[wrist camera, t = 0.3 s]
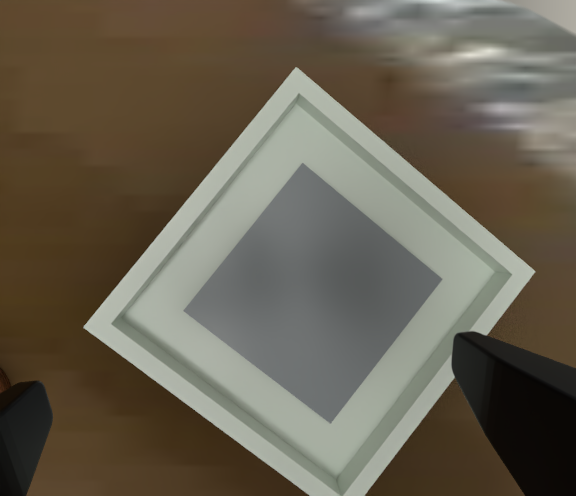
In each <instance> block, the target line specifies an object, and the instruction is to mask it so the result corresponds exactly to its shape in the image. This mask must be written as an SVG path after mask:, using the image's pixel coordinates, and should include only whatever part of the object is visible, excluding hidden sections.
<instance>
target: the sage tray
mask: <svg viewBox="0 0 576 496" xmlns="http://www.w3.org/2000/svg"><path fill="white" fill-rule="evenodd" d="M534 273H535V271H534V270H533V269H532V268H531V267H530V266H528V265H527V264H526V263H525V262H524V261H523V260H521V259H520V258H519V257H518V256H517V255H516V254H514V253H513V252H512V251H511V250H510V249H509V248H507V247H506V246H505V245H504V244H503V243H501V242H500V241H499V240H498V239H497V238H496V237H494V236H493V235H492V234H491V233H490V232H489V231H487V230H486V229H485V228H484V227H483V226H482V225H480V224H479V223H478V222H477V221H476V220H475V219H473V218H472V217H471V216H470V215H469V214H468V213H466V212H465V211H464V210H463V209H462V208H461V207H459V206H458V205H457V204H456V203H455V202H454V201H452V200H451V199H450V198H449V197H448V196H447V195H445V194H444V193H443V192H442V191H441V190H440V189H438V188H437V187H436V186H435V185H434V184H433V183H431V182H430V181H429V180H428V179H427V178H426V177H424V176H423V175H422V174H421V173H420V172H418V171H417V170H416V169H415V168H414V167H413V166H411V165H410V164H409V163H408V162H407V161H406V160H404V159H403V158H402V157H401V156H400V155H399V154H397V153H396V152H395V151H394V150H393V149H392V148H390V147H389V146H388V145H387V144H386V143H385V142H383V141H382V140H381V139H380V138H379V137H378V136H376V135H375V134H374V133H373V132H372V131H371V130H369V129H368V128H367V127H366V126H365V125H364V124H362V123H361V122H360V121H359V120H358V119H357V118H355V117H354V116H353V115H352V114H351V113H350V112H348V111H347V110H346V109H345V108H344V107H343V106H341V105H340V104H339V103H338V102H337V101H335V100H334V99H333V98H332V97H331V96H330V95H328V94H327V93H326V92H325V91H324V90H323V89H321V88H320V87H319V86H318V85H317V84H316V83H314V82H313V81H312V80H311V79H310V78H309V77H307V76H306V75H305V74H304V73H303V72H302V71H300V70H299V69H298V68H297V67H296V68H295V69H294V70H293V71H292V73H291V74H290V75H289V76H288V78H287V79H286V80H285V81H284V82H283V84H282V85H281V86H280V87H279V89H278V90H277V91H276V92H275V93H274V95H273V96H272V97H271V98H270V100H269V101H268V102H267V103H266V104H265V106H264V107H263V108H262V109H261V111H260V112H259V113H258V114H257V115H256V117H255V118H254V119H253V120H252V122H251V123H250V124H249V125H248V126H247V128H246V129H245V130H244V131H243V133H242V134H241V135H240V136H239V137H238V139H237V140H236V141H235V142H234V144H233V145H232V146H231V147H230V148H229V150H228V151H227V152H226V153H225V155H224V156H223V157H222V158H221V159H220V161H219V162H218V163H217V164H216V166H215V167H214V168H213V169H212V170H211V172H210V173H209V174H208V175H207V177H206V178H205V179H204V180H203V181H202V183H201V184H200V185H199V186H198V188H197V189H196V190H195V191H194V192H193V194H192V195H191V196H190V197H189V199H188V200H187V201H186V202H185V203H184V205H183V206H182V207H181V208H180V210H179V211H178V212H177V213H176V214H175V216H174V217H173V218H172V219H171V221H170V222H169V223H168V224H167V225H166V227H165V228H164V229H163V230H162V232H161V233H160V234H159V235H158V236H157V238H156V239H155V240H154V241H153V243H152V244H151V245H150V246H149V247H148V249H147V250H146V251H145V252H144V254H143V255H142V256H141V257H140V258H139V260H138V261H137V262H136V263H135V265H134V266H133V267H132V268H131V269H130V271H129V272H128V273H127V274H126V276H125V277H124V278H123V279H122V280H121V282H120V283H119V284H118V285H117V287H116V288H115V289H114V290H113V291H112V293H111V294H110V295H109V296H108V298H107V299H106V300H105V301H104V302H103V304H102V305H101V306H100V307H99V309H98V310H97V311H96V312H95V313H94V315H93V316H92V317H91V318H90V320H89V321H88V322H87V323H86V324H85V326H84V327H83V328H85V329H86V330H87V331H89V332H90V333H91V334H93V335H94V336H96V337H97V338H98V339H100V340H101V341H102V342H104V343H105V344H106V345H108V346H109V347H110V348H112V349H113V350H114V351H116V352H117V353H118V354H120V355H121V356H122V357H124V358H125V359H127V360H128V361H129V362H131V363H132V364H133V365H135V366H136V367H137V368H139V369H140V370H141V371H143V372H144V373H145V374H147V375H148V376H149V377H151V378H152V379H153V380H155V381H156V382H157V383H159V384H160V385H162V386H163V387H164V388H166V389H167V390H168V391H170V392H171V393H172V394H174V395H175V396H176V397H178V398H179V399H180V400H182V401H183V402H184V403H186V404H187V405H188V406H190V407H191V408H193V409H194V410H195V411H197V412H198V413H199V414H201V415H202V416H203V417H205V418H206V419H207V420H209V421H210V422H211V423H213V424H214V425H215V426H217V427H218V428H219V429H221V430H222V431H223V432H225V433H226V434H228V435H229V436H230V437H232V438H233V439H234V440H236V441H237V442H238V443H240V444H241V445H242V446H244V447H245V448H246V449H248V450H249V451H250V452H252V453H253V454H254V455H256V456H257V457H259V458H260V459H261V460H263V461H264V462H265V463H267V464H268V465H269V466H271V467H272V468H273V469H275V470H276V471H277V472H279V473H280V474H281V475H283V476H284V477H285V478H287V479H288V480H289V481H291V482H292V483H294V484H295V485H296V486H298V487H299V488H300V489H302V490H303V491H304V492H306V493H307V494H308V495H310V496H364V495H365V494H366V493H367V491H368V490H369V489H370V488H371V486H372V485H373V484H374V482H375V481H376V480H377V478H378V477H379V476H380V474H381V473H382V472H383V471H384V469H385V468H386V467H387V465H388V464H389V463H390V461H391V460H392V459H393V457H394V456H395V455H396V454H397V452H398V451H399V450H400V448H401V447H402V446H403V444H404V443H405V442H406V440H407V439H408V438H409V436H410V435H411V434H412V433H413V431H414V430H415V429H416V427H417V426H418V425H419V423H420V422H421V421H422V419H423V418H424V417H425V416H426V414H427V413H428V412H429V410H430V409H431V408H432V406H433V405H434V404H435V402H436V401H437V400H438V398H439V397H440V396H441V395H442V393H443V392H444V391H445V389H446V388H447V387H448V385H449V384H450V383H451V381H452V380H453V379H454V378H455V376H454V374H453V371H452V366H451V361H452V349H453V339H454V336H455V335H456V334H457V333H459V332H467V331H475V332H478V333H481V334H483V335H486V336H487V334H488V333H489V332H490V330H491V329H492V328H493V326H494V325H495V324H496V323H497V321H498V320H499V319H500V317H501V316H502V315H503V313H504V312H505V311H506V309H507V308H508V307H509V306H510V304H511V303H512V302H513V300H514V299H515V298H516V296H517V295H518V294H519V292H520V291H521V290H522V288H523V287H524V286H525V285H526V283H527V282H528V281H529V279H530V278H531V277H532V275H533V274H534Z"/></svg>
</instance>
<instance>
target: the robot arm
mask: <svg viewBox="0 0 576 496" xmlns="http://www.w3.org/2000/svg"><path fill="white" fill-rule="evenodd" d="M451 366H452V371H453V374H454V376H455V378H456V380H457V382H458V384H459V386H460V388H461V390H462V392H463V394H464V396H465V397H466V399H467V401H468V403H469V405H470V407H471V409H472V411H473V413H474V415H475V417H476V419H477V420H478V422H479V424H480V426H481V428H482V430H483V431H484V433H485V435H486V436H487V438H488V440H489V441H490V443H491V444H492V446H493V448H494V449H495V451H496V452H497V454H498V455H499V457H500V458H501V460H502V461H503V463H504V464H505V466H506V467H507V469H508V470H509V472H510V473H511V475H512V476H513V478H514V479H515V481H516V482H517V484H518V486H519V487H520V489H521V490H522V492H523V493H524V495H525V496H576V368H573V367H571V366H568V365H565V364H562V363H560V362H557V361H554V360H552V359H549V358H546V357H543V356H541V355H538V354H535V353H532V352H530V351H527V350H524V349H522V348H519V347H516V346H513V345H511V344H508V343H505V342H503V341H500V340H497V339H494V338H492V337H489V336H486V335H483V334H481V333H478V332H475V331H467V332H459V333H457V334H456V335H455V336H454V339H453V349H452V361H451ZM52 420H53V413H52V409H51V406H50V403H49V399H48V396H47V393H46V389H45V387H44V384H43V383H42V382H40V381H28V382H20V383H17V384H15V385H14V386H12V387H10V388H8V389H7V390H5V391H3V392H1V393H0V496H26V494H27V492H28V489H29V487H30V484H31V481H32V478H33V475H34V473H35V470H36V467H37V464H38V461H39V459H40V456H41V453H42V450H43V447H44V445H45V442H46V439H47V436H48V433H49V431H50V428H51V425H52Z"/></svg>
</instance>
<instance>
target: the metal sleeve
mask: <svg viewBox="0 0 576 496" xmlns="http://www.w3.org/2000/svg"><path fill="white" fill-rule="evenodd" d="M10 387H11V386H10V383H9V380H8V378H7V376H6V375H5V373H4V372H3V371H2V370H1V368H0V393H1V392H3V391H5V390H7V389H8V388H10Z"/></svg>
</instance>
